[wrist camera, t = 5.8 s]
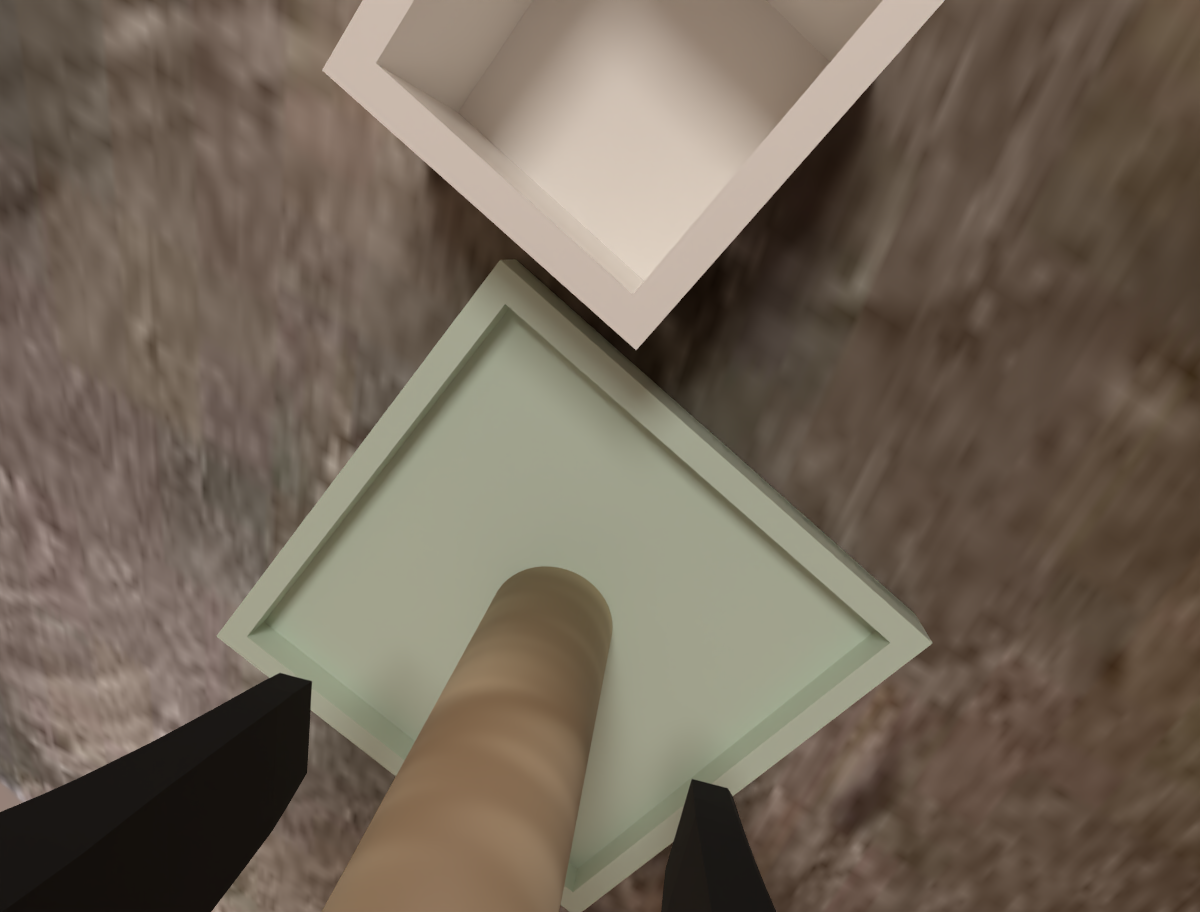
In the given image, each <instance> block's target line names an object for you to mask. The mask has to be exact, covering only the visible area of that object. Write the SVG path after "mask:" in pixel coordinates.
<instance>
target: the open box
mask: <svg viewBox="0 0 1200 912" xmlns="http://www.w3.org/2000/svg"><path fill="white" fill-rule="evenodd" d="M943 2H944V0H363V1H362V3H361V4H360V6H359V8H358V10H357V11H356V13H355V15H354V16H353V18H352V20H351V22H350V23H349V25H348V27H347V28H346V30H345V32H344V34H343V35H342V37H341V39H340V40H339V42H338V44H337V46H336V47H335V49H334V51H333V53H332V54H331V56H330V58H329V59H328V61H327V63H326V65H325V66H324V68H323V70H322V71H324V72H325V73H326V74H327V75H328V76H329V77H330V78H331V79H332V80H334V81H335V82H336V83H337V84H338V85H339V86H340V87H341V88H343V89H344V90H345V91H346V92H347V93H348V94H349V95H350V96H352V97H353V98H354V99H355V100H356V101H357V102H358V103H359V104H361V105H362V106H363V107H364V108H365V109H366V110H367V111H368V112H369V113H371V114H372V115H373V116H374V117H375V118H376V119H377V120H378V121H380V122H381V123H382V124H383V125H384V126H385V127H386V128H387V129H389V130H390V131H391V132H392V133H393V134H394V135H395V136H396V137H398V138H399V139H400V140H401V141H402V142H403V143H404V144H405V145H406V146H408V147H409V148H410V149H411V150H412V151H413V152H414V153H415V154H417V155H418V156H419V157H420V158H421V159H422V160H423V161H424V162H426V163H427V164H428V165H429V166H430V167H431V168H432V169H433V170H435V171H436V172H437V173H438V174H439V175H440V176H441V177H442V178H443V179H445V180H446V181H447V182H448V183H449V184H450V185H451V186H452V187H454V188H455V189H456V190H457V191H458V192H459V193H460V194H461V195H463V196H464V197H465V198H466V199H467V200H468V201H469V202H470V203H472V204H473V205H474V206H475V207H476V208H477V209H478V210H479V211H481V212H482V213H483V214H484V215H485V216H486V217H487V218H488V219H489V220H491V221H492V222H493V223H494V224H495V225H496V226H497V227H498V228H500V229H501V230H502V231H503V232H504V233H505V234H506V235H507V236H509V237H510V238H511V239H512V240H513V241H514V242H515V243H516V244H518V245H519V246H520V247H521V248H522V249H523V250H524V251H525V252H526V253H528V254H529V255H530V256H531V257H532V258H533V259H534V260H535V261H537V262H538V263H539V264H540V265H541V266H542V267H543V268H544V269H546V270H547V271H548V272H549V273H550V274H551V275H552V276H553V277H555V278H556V279H557V280H558V281H559V282H560V283H561V284H562V285H563V286H565V287H566V288H567V289H568V290H569V291H570V292H571V293H572V294H574V295H575V296H576V297H577V298H578V299H579V300H580V301H581V302H583V303H584V304H585V305H586V306H587V307H588V308H589V309H590V310H592V311H593V312H594V313H595V314H596V315H597V316H598V317H599V318H600V319H602V320H603V321H604V322H605V323H606V324H607V325H608V326H609V327H611V328H612V329H613V330H614V331H615V332H616V333H617V334H618V335H620V336H621V337H622V338H623V339H624V340H625V341H626V342H627V343H629V344H630V345H631V346H632V347H633V348H634V349H635V350H637V349H638V348H639V347H640V345H641V344H642V343H643V342H644V341H645V340H646V339H647V337H648V336H649V335H650V334H651V333H652V332H653V331H654V330H655V328H656V327H657V326H658V325H659V324H660V323H661V322H662V320H663V319H664V318H665V317H666V316H667V315H668V314H669V313H670V311H671V310H672V309H673V308H674V307H675V306H676V305H677V303H678V302H679V301H680V300H681V299H682V298H683V297H684V296H685V294H686V293H687V292H688V291H689V290H690V289H691V288H692V286H693V285H694V284H695V283H696V282H697V281H698V280H699V278H700V277H701V276H702V275H703V274H704V273H705V272H706V271H707V269H708V268H709V267H710V266H711V265H712V264H713V263H714V261H715V260H716V259H717V258H718V257H719V256H720V255H721V254H722V252H723V251H724V250H725V249H726V248H727V247H728V246H729V244H730V243H731V242H732V241H733V240H734V239H735V238H736V236H737V235H738V234H739V233H740V232H741V231H742V230H743V229H744V227H745V226H746V225H747V224H748V223H749V222H750V221H751V219H752V218H753V217H754V216H755V215H756V214H757V213H758V212H759V210H760V209H761V208H762V207H763V206H764V205H765V204H766V202H767V201H768V200H769V199H770V198H771V197H772V196H773V195H774V193H775V192H776V191H777V190H778V189H779V188H780V187H781V185H782V184H783V183H784V182H785V181H786V180H787V179H788V177H789V176H790V175H791V174H792V173H793V172H794V171H795V170H796V168H797V167H798V166H799V165H800V164H801V163H802V162H803V160H804V159H805V158H806V157H807V156H808V155H809V154H810V153H811V151H812V150H813V149H814V148H815V147H816V146H817V145H818V143H819V142H820V141H821V140H822V139H823V138H824V137H825V135H826V134H827V133H828V132H829V131H830V130H831V129H832V128H833V126H834V125H835V124H836V123H837V122H838V121H839V120H840V118H841V117H842V116H843V115H844V114H845V113H846V112H847V111H848V109H849V108H850V107H851V106H852V105H853V104H854V103H855V101H856V100H857V99H858V98H859V97H860V96H861V95H862V94H863V92H864V91H865V90H866V89H867V88H868V87H869V86H870V84H871V83H872V82H873V81H874V80H875V79H876V78H877V76H878V75H879V74H880V73H881V72H882V71H883V70H884V69H885V67H886V66H887V65H888V64H889V63H890V62H891V61H892V59H893V58H894V57H895V56H896V55H897V54H898V53H899V52H900V50H901V49H902V48H903V47H904V46H905V45H906V44H907V42H908V41H909V40H910V39H911V38H912V37H913V36H914V34H915V33H916V32H917V31H918V30H919V29H920V28H921V27H922V25H923V24H924V23H925V22H926V21H927V20H928V19H929V17H930V16H931V15H932V14H933V13H934V12H935V11H936V10H937V8H938V7H939V6H940V5H941V4H942V3H943Z"/></svg>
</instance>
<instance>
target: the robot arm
mask: <svg viewBox="0 0 1200 912" xmlns="http://www.w3.org/2000/svg"><path fill="white" fill-rule="evenodd" d="M311 691H312V681H310V680H306V679H302V678H298V677H294V676H290V675H286V674H283V673H278V674H277V675H275V676H273V677H271V678H269V679H267V680H265V681H263V682H261V683H260V684H258V685H256V686H254V687H252V688H250V689H249V690H247V691H245V692H243V693H241V694H240V695H238V696H236V697H234V698H232V699H231V700H229V701H227V702H225V703H224V704H222V705H220V706H218V707H216V708H214V709H213V710H211V711H209V712H207V713H205V714H204V715H202V716H200V717H198V718H196V719H194V720H192V721H191V722H189V723H187V724H185V725H183V726H181V727H179V728H178V729H176V730H174V731H172V732H170V733H168V734H166V735H165V736H163V737H161V738H159V739H157V740H155V741H153V742H151V743H149V744H147V745H145V746H143V747H141V748H139V749H137V750H135V751H133V752H131V753H129V754H127V755H125V756H123V757H121V758H119V759H117V760H115V761H113V762H111V763H109V764H107V765H105V766H103V767H101V768H99V769H97V770H95V771H93V772H91V773H88V774H86V775H84V776H82V777H80V778H78V779H76V780H74V781H72V782H69V783H67V784H65V785H63V786H61V787H58V788H56V789H54V790H52V791H49V792H47V793H45V794H43V795H40V796H38V797H36V798H33V799H31V800H28V801H26V802H24V803H21V804H19V805H17V806H14V807H12V808H9V809H7V810H4V811H2V812H0V912H211V911H212V910H213V909H214V907H215V906H216V905H217V903H218V902H219V901H220V899H221V898H222V897H223V895H224V894H225V893H226V892H227V890H228V889H229V888H230V886H231V885H232V884H233V882H234V881H235V880H236V878H237V877H238V876H239V874H240V873H241V872H242V871H243V869H244V868H245V867H246V865H247V864H248V863H249V861H250V860H251V859H252V857H253V856H254V855H255V853H256V852H257V851H258V849H259V848H260V847H261V845H262V844H263V843H264V841H265V840H266V838H267V837H268V836H269V834H270V833H271V832H272V830H273V829H274V827H275V825H276V824H277V822H278V821H279V819H280V817H281V816H282V814H283V812H284V811H285V809H286V808H287V806H288V804H289V803H290V801H291V799H292V798H293V796H294V794H295V792H296V791H297V789H298V787H299V785H300V784H301V782H302V780H303V779H304V777H305V775H306V773H307V762H308V745H309V727H310V709H311ZM661 912H776V910H775V908H774V906H773V903H772V901H771V899H770V896H769V894H768V892H767V889H766V887H765V884H764V882H763V879H762V877H761V874H760V872H759V870H758V867H757V864H756V862H755V859H754V856H753V854H752V851H751V849H750V846H749V843H748V840H747V838H746V835H745V832H744V829H743V826H742V824H741V821H740V818H739V815H738V812H737V809H736V806H735V802H734V799H733V796H732V794H731V793H730V791H729V789H728V788H725V787H721V786H718V785H714V784H710V783H706V782H702V781H698V780H694V779H692V780H691V783H690V787H689V790H688V793H687V797H686V800H685V804H684V807H683V811H682V814H681V818H680V821H679V825H678V828H677V831H676V835H675V838H674V842H673V845H672V849H671V852H670V856H669V859H668V862H667V866H666V870H665V880H664V890H663V900H662V911H661Z"/></svg>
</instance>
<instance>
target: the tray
mask: <svg viewBox="0 0 1200 912" xmlns="http://www.w3.org/2000/svg"><path fill="white" fill-rule="evenodd" d="M542 566H549V567H558V568H562V569H566V570H569V571H572V572H574V573H576V574H578V575H580V576H582V577H583V578H585V579H586V580H588V581H589V582H590V583H591V584H593V585H594V586H595V587H596V588H597V589H598V591H599V592H600V593H601V594H602V596H603V597H604V599H605V600H606V602H607V604H608V606H609V609H610V612H611V617H612V627H613V628H612V636H611V642H610V647H609V652H608V658H607V663H606V668H605V673H604V679H603V684H602V689H601V694H600V700H599V705H598V710H597V715H596V721H595V726H594V731H593V737H592V742H591V747H590V752H589V758H588V763H587V768H586V773H585V779H584V784H583V789H582V794H581V800H580V805H579V810H578V816H577V821H576V826H575V831H574V837H573V842H572V847H571V852H570V858H569V863H568V868H567V873H566V879H565V884H564V889H563V895H562V900H561V906H563V907H564V908H565V909H566V910H568V911H569V912H582V911H584V910H585V909H586V908H588V907H589V906H590V905H592V904H593V903H594V902H595V901H597V900H598V899H599V898H601V897H602V896H603V895H605V894H606V893H607V892H609V891H610V890H611V889H612V888H614V887H615V886H616V885H618V884H619V883H620V882H622V881H623V880H624V879H625V878H627V877H628V876H629V875H631V874H632V873H633V872H635V871H636V870H637V869H639V868H640V867H641V866H642V865H644V864H645V863H646V862H648V861H649V860H650V859H652V858H653V857H654V856H655V855H657V854H658V853H659V852H661V851H662V850H663V849H665V848H666V847H667V846H669V845H670V844H671V843H672V842H674V838H675V835H676V831H677V828H678V825H679V821H680V818H681V814H682V811H683V807H684V804H685V800H686V797H687V793H688V790H689V787H690V783H691V780H692V779H694V780H698V781H702V782H706V783H710V784H714V785H718V786H721V787H725V788H728V789H729V791H730V793H731V794H732V796H734V795H735V794H736V793H738V792H739V791H740V790H742V789H743V788H744V787H746V786H747V785H748V784H749V783H751V782H752V781H753V780H755V779H756V778H757V777H759V776H760V775H761V774H762V773H764V772H765V771H766V770H768V769H769V768H770V767H772V766H773V765H774V764H776V763H777V762H778V761H779V760H781V759H782V758H783V757H785V756H786V755H787V754H789V753H790V752H791V751H792V750H794V749H795V748H796V747H798V746H799V745H800V744H802V743H803V742H804V741H806V740H807V739H808V738H809V737H811V736H812V735H813V734H815V733H816V732H817V731H819V730H820V729H821V728H822V727H824V726H825V725H826V724H828V723H829V722H830V721H832V720H833V719H834V718H836V717H837V716H838V715H839V714H841V713H842V712H843V711H845V710H846V709H847V708H849V707H850V706H851V705H852V704H854V703H855V702H856V701H858V700H859V699H860V698H862V697H863V696H864V695H866V694H867V693H868V692H869V691H871V690H872V689H873V688H875V687H876V686H877V685H879V684H880V683H881V682H882V681H884V680H885V679H886V678H888V677H889V676H890V675H892V674H893V673H894V672H896V671H897V670H898V669H899V668H901V667H902V666H903V665H905V664H906V663H907V662H909V661H910V660H911V659H912V658H914V657H915V656H916V655H918V654H919V653H920V652H922V651H923V650H924V649H926V648H927V647H928V646H929V645H931V644H932V641H931V640H930V638H929V636H928V635H927V633H926V631H925V630H924V628H923V626H922V625H921V623H920V622H919V620H918V618H917V617H916V615H915V614H914V613H913V612H912V611H911V610H910V609H909V608H908V607H906V606H905V605H904V604H903V603H902V602H901V601H900V600H899V599H897V598H896V597H895V596H894V595H893V594H892V593H891V592H890V591H888V590H887V589H886V588H885V587H884V586H883V585H882V584H881V583H879V582H878V581H877V580H876V579H875V578H874V577H873V576H872V575H870V574H869V573H868V572H867V571H866V570H865V569H864V568H863V567H862V566H860V565H859V564H858V563H857V562H856V561H855V560H854V559H852V558H851V557H850V556H849V555H848V554H847V553H846V552H845V551H844V550H842V549H841V548H840V547H839V546H838V545H837V544H836V543H835V542H833V541H832V540H831V539H830V538H829V537H828V536H827V535H826V534H824V533H823V532H822V531H821V530H820V529H819V528H818V527H817V526H815V525H814V524H813V523H812V522H811V521H810V520H809V519H808V518H806V517H805V516H804V515H803V514H802V513H801V512H800V511H799V510H797V509H796V508H795V507H794V506H793V505H792V504H791V503H790V502H788V501H787V500H786V499H785V498H784V497H783V496H782V495H781V494H779V493H778V492H777V491H776V490H775V489H774V488H773V487H772V486H770V485H769V484H768V483H767V482H766V481H765V480H764V479H763V478H761V477H760V476H759V475H758V474H757V473H756V472H755V471H754V470H752V469H751V468H750V467H749V466H748V465H747V464H746V463H745V462H743V461H742V460H741V459H740V458H739V457H738V456H737V455H736V454H734V453H733V452H732V451H731V450H730V449H729V448H728V447H727V446H725V445H724V444H723V443H722V442H721V441H720V440H719V439H718V438H716V437H715V436H714V435H713V434H712V433H711V432H710V431H709V430H707V429H706V428H705V427H704V426H703V425H702V424H701V423H700V422H698V421H697V420H696V419H695V418H694V417H693V416H692V415H691V414H689V413H688V412H687V411H686V410H685V409H684V408H683V407H682V406H680V405H679V404H678V403H677V402H676V401H675V400H674V399H673V398H671V397H670V396H669V395H668V394H667V393H666V392H665V391H664V390H662V389H661V388H660V387H659V386H658V385H657V384H656V383H655V382H653V381H652V380H651V379H650V378H649V377H648V376H647V375H646V374H644V373H643V372H642V371H641V370H640V369H639V368H638V367H637V366H635V365H634V364H633V363H632V362H631V361H630V360H629V359H628V358H626V357H625V356H624V355H623V354H622V353H621V352H620V351H619V350H617V349H616V348H615V347H614V346H613V345H612V344H611V343H610V342H608V341H607V340H606V339H605V338H604V337H603V336H602V335H601V334H599V333H598V332H597V331H596V330H595V329H594V328H593V327H592V326H590V325H589V324H588V323H587V322H586V321H585V320H584V319H583V318H581V317H580V316H579V315H578V314H577V313H576V312H575V311H574V310H572V309H571V308H570V307H569V306H568V305H567V304H566V303H565V302H563V301H562V300H561V299H560V298H559V297H558V296H557V295H556V294H554V293H553V292H552V291H551V290H550V289H549V288H548V287H547V286H545V285H544V284H543V283H542V282H541V281H540V280H539V279H538V278H536V277H535V276H534V275H533V274H532V273H531V272H530V271H529V270H527V269H526V268H525V267H524V266H523V265H522V264H521V263H520V262H518V261H517V260H516V259H511V260H500V261H499V262H498V263H497V265H496V266H495V267H494V269H493V270H492V271H491V273H490V274H489V275H488V277H487V278H486V279H485V281H484V282H483V283H482V285H481V286H480V287H479V289H478V290H477V291H476V292H475V294H474V295H473V296H472V298H471V299H470V300H469V302H468V303H467V304H466V306H465V307H464V308H463V310H462V311H461V312H460V314H459V315H458V316H457V318H456V319H455V320H454V322H453V323H452V324H451V326H450V327H449V328H448V330H447V331H446V332H445V334H444V335H443V336H442V338H441V339H440V340H439V342H438V343H437V344H436V346H435V347H434V348H433V350H432V351H431V352H430V354H429V355H428V356H427V358H426V359H425V360H424V361H423V363H422V364H421V365H420V367H419V368H418V369H417V371H416V372H415V373H414V375H413V376H412V377H411V379H410V380H409V381H408V383H407V384H406V385H405V387H404V388H403V389H402V391H401V392H400V393H399V395H398V396H397V397H396V399H395V400H394V401H393V403H392V404H391V405H390V407H389V408H388V409H387V411H386V412H385V413H384V415H383V416H382V417H381V419H380V420H379V421H378V423H377V424H376V425H375V426H374V428H373V429H372V430H371V432H370V433H369V434H368V436H367V437H366V438H365V440H364V441H363V442H362V444H361V445H360V446H359V448H358V449H357V450H356V452H355V453H354V454H353V456H352V457H351V458H350V460H349V461H348V462H347V464H346V465H345V466H344V468H343V469H342V470H341V472H340V473H339V474H338V476H337V477H336V478H335V480H334V481H333V482H332V484H331V485H330V486H329V488H328V489H327V490H326V492H325V493H324V494H323V495H322V497H321V498H320V499H319V501H318V502H317V503H316V505H315V506H314V507H313V509H312V510H311V511H310V513H309V514H308V515H307V517H306V518H305V519H304V521H303V522H302V523H301V525H300V526H299V527H298V529H297V530H296V531H295V533H294V534H293V535H292V537H291V538H290V539H289V541H288V542H287V543H286V545H285V546H284V547H283V549H282V550H281V551H280V553H279V554H278V555H277V557H276V558H275V559H274V561H273V562H272V563H271V564H270V566H269V567H268V568H267V570H266V571H265V572H264V574H263V575H262V576H261V578H260V579H259V580H258V582H257V583H256V584H255V586H254V587H253V588H252V590H251V591H250V592H249V594H248V595H247V596H246V598H245V599H244V600H243V602H242V603H241V604H240V606H239V607H238V608H237V610H236V611H235V612H234V614H233V615H232V616H231V618H230V619H229V620H228V622H227V623H226V624H225V626H224V627H223V628H222V630H221V631H220V632H219V633H218V635H217V637H218V638H219V639H220V640H222V641H223V642H224V643H226V644H227V645H228V646H229V647H231V648H232V649H233V650H234V651H236V652H237V653H238V654H240V655H241V656H242V657H243V658H245V659H246V660H247V661H249V662H250V663H251V664H252V665H254V666H255V667H256V668H258V669H259V670H260V671H261V672H263V673H264V674H265V675H267V676H268V677H269V678H271V677H273V676H275V675H277V674H278V673H283V674H286V675H290V676H294V677H298V678H302V679H306V680H310V681H312V691H311V709H310V710H311V711H313V712H314V713H315V714H317V715H318V716H319V717H320V718H322V719H323V720H324V721H325V722H327V723H328V724H329V725H331V726H332V727H333V728H334V729H336V730H337V731H338V732H340V733H341V734H342V735H343V736H345V737H346V738H347V739H349V740H350V741H351V742H352V743H354V744H355V745H356V746H358V747H359V748H360V749H361V750H363V751H364V752H365V753H366V754H368V755H369V756H370V757H372V758H373V759H374V760H375V761H377V762H378V763H379V764H381V765H382V766H383V767H384V768H386V769H387V770H388V771H390V772H391V773H392V774H393V775H395V776H396V775H397V773H398V772H399V770H400V768H401V766H402V764H403V763H404V761H405V759H406V757H407V755H408V753H409V752H410V750H411V748H412V746H413V744H414V742H415V741H416V739H417V737H418V735H419V733H420V731H421V730H422V728H423V726H424V724H425V722H426V721H427V719H428V717H429V715H430V713H431V711H432V710H433V708H434V706H435V704H436V702H437V700H438V699H439V697H440V695H441V693H442V691H443V690H444V688H445V686H446V684H447V682H448V680H449V679H450V677H451V675H452V673H453V671H454V669H455V668H456V666H457V664H458V662H459V660H460V659H461V657H462V655H463V653H464V651H465V649H466V648H467V646H468V644H469V642H470V640H471V638H472V637H473V635H474V633H475V631H476V629H477V628H478V626H479V624H480V622H481V620H482V618H483V617H484V615H485V613H486V611H487V609H488V607H489V606H490V604H491V602H492V600H493V598H494V597H495V595H496V593H497V591H498V590H499V588H500V587H501V586H502V584H503V583H504V582H505V581H506V580H508V579H509V578H510V577H512V576H513V575H515V574H517V573H518V572H520V571H523V570H526V569H529V568H534V567H542Z"/></svg>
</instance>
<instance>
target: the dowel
mask: <svg viewBox="0 0 1200 912" xmlns="http://www.w3.org/2000/svg"><path fill="white" fill-rule="evenodd" d="M612 628H613V627H612V617H611V612H610V609H609V606H608V604H607V602H606V600H605V599H604V597H603V596H602V594H601V593H600V592H599V591H598V589H597V588H596V587H595V586H594V585H593V584H591V583H590V582H589V581H588V580H586V579H585V578H583V577H582V576H580V575H578V574H576V573H574V572H572V571H569V570H566V569H562V568H558V567H549V566H542V567H534V568H529V569H526V570H523V571H520V572H518V573H517V574H515V575H513V576H512V577H510V578H509V579H508V580H506V581H505V582H504V583H503V584H502V586H501V587H500V588H499V590H498V591H497V593H496V595H495V597H494V598H493V600H492V602H491V604H490V606H489V607H488V609H487V611H486V613H485V615H484V617H483V618H482V620H481V622H480V624H479V626H478V628H477V629H476V631H475V633H474V635H473V637H472V638H471V640H470V642H469V644H468V646H467V648H466V649H465V651H464V653H463V655H462V657H461V659H460V660H459V662H458V664H457V666H456V668H455V669H454V671H453V673H452V675H451V677H450V679H449V680H448V682H447V684H446V686H445V688H444V690H443V691H442V693H441V695H440V697H439V699H438V700H437V702H436V704H435V706H434V708H433V710H432V711H431V713H430V715H429V717H428V719H427V721H426V722H425V724H424V726H423V728H422V730H421V731H420V733H419V735H418V737H417V739H416V741H415V742H414V744H413V746H412V748H411V750H410V752H409V753H408V755H407V757H406V759H405V761H404V763H403V764H402V766H401V768H400V770H399V772H398V773H397V775H396V777H395V779H394V781H393V783H392V784H391V786H390V788H389V790H388V792H387V794H386V795H385V797H384V799H383V801H382V803H381V804H380V806H379V808H378V810H377V812H376V814H375V815H374V817H373V819H372V821H371V823H370V825H369V826H368V828H367V830H366V832H365V834H364V835H363V837H362V839H361V841H360V843H359V845H358V846H357V848H356V850H355V852H354V854H353V856H352V857H351V859H350V861H349V863H348V865H347V866H346V868H345V870H344V872H343V874H342V876H341V877H340V879H339V881H338V883H337V885H336V887H335V888H334V890H333V892H332V894H331V896H330V897H329V899H328V901H327V903H326V905H325V907H324V908H323V910H322V912H559V910H560V905H561V900H562V895H563V889H564V884H565V879H566V873H567V868H568V863H569V858H570V852H571V847H572V842H573V837H574V831H575V826H576V821H577V816H578V810H579V805H580V800H581V794H582V789H583V784H584V779H585V773H586V768H587V763H588V758H589V752H590V747H591V742H592V737H593V731H594V726H595V721H596V715H597V710H598V705H599V700H600V694H601V689H602V684H603V679H604V673H605V668H606V663H607V658H608V652H609V647H610V642H611V636H612Z"/></svg>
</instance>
